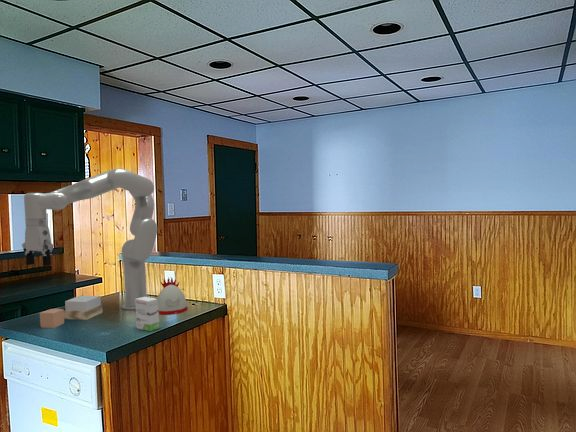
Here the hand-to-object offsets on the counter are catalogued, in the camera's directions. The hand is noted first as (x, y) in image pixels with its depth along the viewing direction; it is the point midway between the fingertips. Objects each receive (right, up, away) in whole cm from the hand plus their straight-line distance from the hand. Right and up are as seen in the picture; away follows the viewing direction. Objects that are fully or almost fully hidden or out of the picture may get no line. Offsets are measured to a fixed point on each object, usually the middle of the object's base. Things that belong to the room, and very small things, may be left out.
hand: (38, 265), depth 171 cm
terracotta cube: (+6, -25, 0) cm, 25 cm away
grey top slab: (+12, -20, +13) cm, 27 cm away
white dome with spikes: (+49, -23, +18) cm, 57 cm away
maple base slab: (+12, -24, +13) cm, 30 cm away
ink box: (+47, -24, -7) cm, 53 cm away
